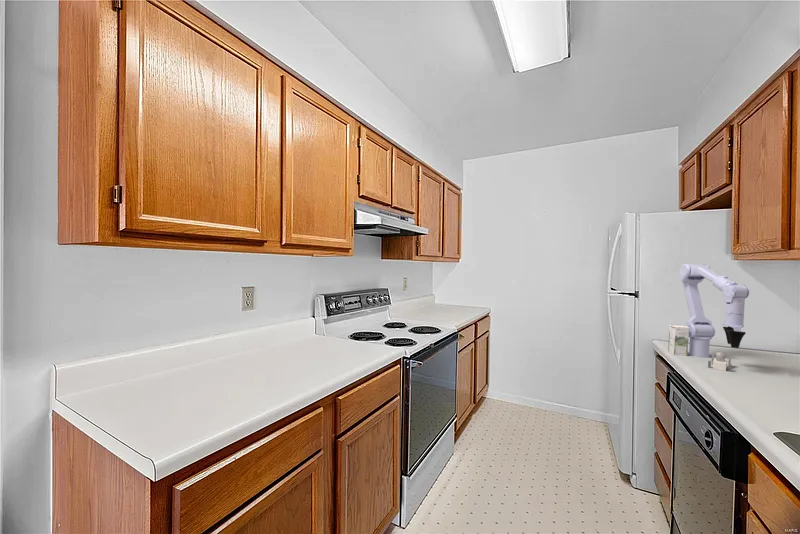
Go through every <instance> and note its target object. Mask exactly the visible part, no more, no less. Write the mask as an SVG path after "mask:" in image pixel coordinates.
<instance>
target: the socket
mask: <svg viewBox="0 0 800 534" xmlns="http://www.w3.org/2000/svg"><path fill="white" fill-rule="evenodd" d="M711 362H712V360H708V362H707V368H708V369H711V368H712V364H711ZM732 366H733V365H732V363H731V364H729V367H728V372H732Z"/></svg>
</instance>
